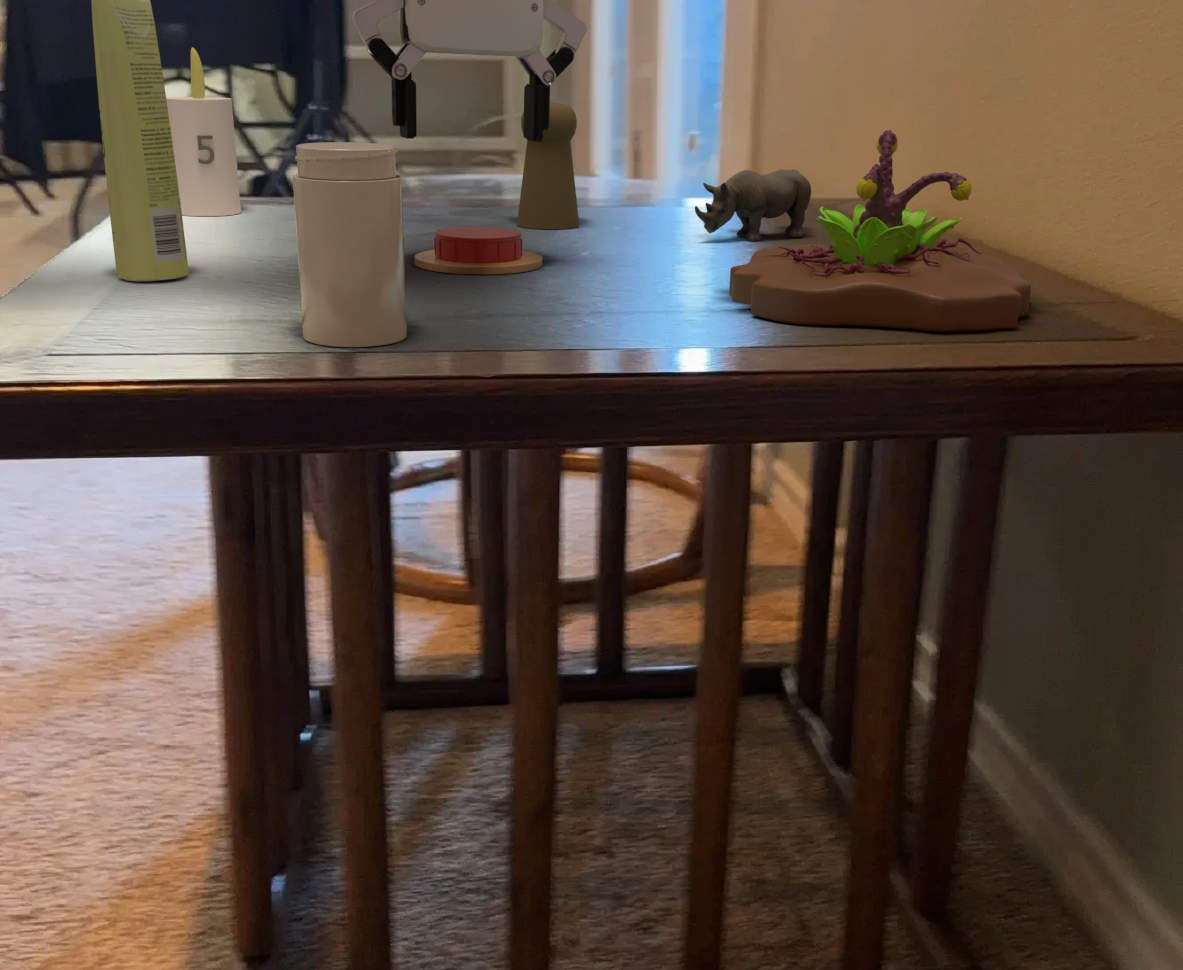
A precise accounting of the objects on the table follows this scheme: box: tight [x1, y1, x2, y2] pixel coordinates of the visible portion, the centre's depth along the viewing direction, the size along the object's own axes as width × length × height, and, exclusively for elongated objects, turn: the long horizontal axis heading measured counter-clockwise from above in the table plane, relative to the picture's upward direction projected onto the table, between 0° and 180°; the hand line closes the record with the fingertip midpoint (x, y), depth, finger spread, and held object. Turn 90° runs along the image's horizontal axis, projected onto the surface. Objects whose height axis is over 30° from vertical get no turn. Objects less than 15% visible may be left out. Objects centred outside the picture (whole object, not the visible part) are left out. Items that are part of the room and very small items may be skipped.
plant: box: [728, 129, 1032, 333], centre depth 87 cm, size 20×20×11 cm
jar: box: [292, 141, 408, 348], centre depth 74 cm, size 6×6×11 cm
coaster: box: [414, 248, 543, 276], centre depth 101 cm, size 10×10×1 cm
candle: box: [166, 47, 242, 217], centre depth 124 cm, size 6×6×15 cm
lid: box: [433, 226, 523, 263], centre depth 100 cm, size 7×7×2 cm
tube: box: [91, 0, 190, 282], centre depth 89 cm, size 6×5×20 cm
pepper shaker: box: [516, 102, 580, 230], centre depth 122 cm, size 6×6×11 cm
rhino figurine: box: [694, 168, 812, 242], centre depth 117 cm, size 4×14×6 cm, turn 124°
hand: (471, 138), depth 97 cm, fingers open, 9 cm apart
